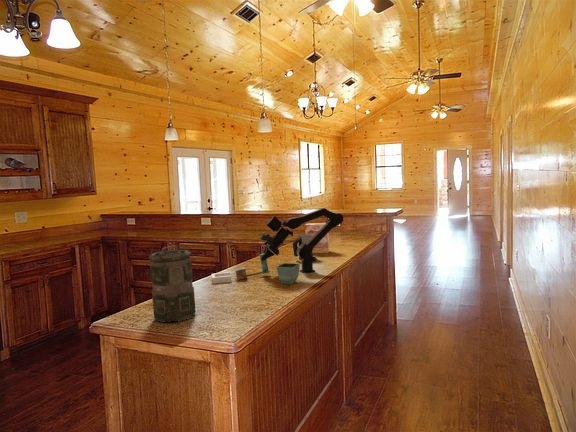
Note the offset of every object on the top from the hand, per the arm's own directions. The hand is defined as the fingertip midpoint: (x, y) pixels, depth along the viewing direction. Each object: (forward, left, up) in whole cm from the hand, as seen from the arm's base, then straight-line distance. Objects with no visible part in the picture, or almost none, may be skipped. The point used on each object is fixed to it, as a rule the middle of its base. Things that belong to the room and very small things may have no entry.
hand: (261, 259), depth 226 cm
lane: (+7, +20, -9) cm, 23 cm away
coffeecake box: (+36, -60, -9) cm, 70 cm away
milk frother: (+20, -42, -9) cm, 47 cm away
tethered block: (+1, +4, -8) cm, 9 cm away
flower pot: (-23, -4, -9) cm, 25 cm away
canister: (-38, +56, -9) cm, 68 cm away
